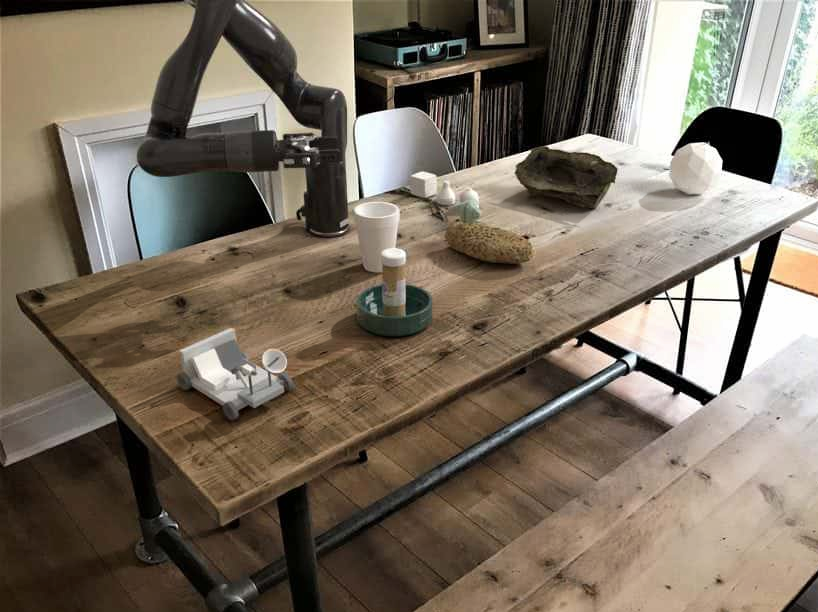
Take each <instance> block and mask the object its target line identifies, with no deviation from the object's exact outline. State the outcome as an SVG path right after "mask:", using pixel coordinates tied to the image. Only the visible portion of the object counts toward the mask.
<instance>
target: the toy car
mask: <svg viewBox="0 0 818 612" xmlns="http://www.w3.org/2000/svg"><path fill="white" fill-rule="evenodd" d="M178 351H179V356H180V362H181V367H182V371H181V372H179V373H177V375H176V380H177V381H176V382H177V383H178V385H179V386H180V388H181V389H182V390H184V391H188V390H190V389H191V388H194V389H196V390H197V391H199V392H200V393H202V394H204V395H205V396H206V397H208V398H210V399H212V401H214V402H216V403H217V404H219V405H220V406H222V410H223V413H224V415H225V416H226V418H227V419H228V420H230V421H235V420H237V419H238V418H239V417H240V413H239V410H241V409H243V408H245V407H247V406H250V407H251V408H252V409H255V408H257V407H259V406H260V405H263V404H265V403H267V402H269V401H270V400H272V399H274V398H276V397H278V396H280V395H281V394H283V393H285V392H289V391H291V390H293V388H294V383H293V380H292V378H291V376H290V375H289V374H288V373H286V372H284V371H285V369H286V368H287V366H288V360H287V357H286V355H285V354H284V352H282V351H281V350H279V349H277V348H270V349H267V350H265V352H264V353H263V354H262V358H261V359H262V360H261V361H262V366H263V368H264V369H263V368H262V367H260V366H258V365H257V364H255V363H253V362H251V361H250V360H248V359H247V358H246V354H245V352H244V350H243V349H242V348H241V347H239V346H238V341H237V335H236V329H234V327H233V328H232V327H230V328H228V329H225V330H223V331H221V332H218V333H216V334H214V335H211V336H209V337H207V338H205V339H201V340H200V341H198V342H195V343H193V344H191V345H188V346H185V347H183V348H182V349H179V350H178ZM280 373H281V374H280ZM274 374H279V375H278V376H276V375H274Z"/></svg>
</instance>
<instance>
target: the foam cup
mask: <svg viewBox="0 0 818 612" xmlns="http://www.w3.org/2000/svg"><path fill="white" fill-rule="evenodd" d="M400 219H401V218H400V208H399V207H398V206H397V205H395V204H393V203H391V202H385V201H369V202H368V201H367V202H363V203H360V204H359V205H356V206H355V207H354V209H353V221H354V222H355V228H356V233H357V237H358V239H357V240H358V243H359V250H360V255H361V261H362V265H363V269H364V270H365V271H368V272H370V273H382V263H381V252H382V251H383V250H385V249H389V248H396V246H397V245H396V244H397V235H398V228H399V222H400Z"/></svg>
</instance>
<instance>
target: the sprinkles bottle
mask: <svg viewBox="0 0 818 612" xmlns="http://www.w3.org/2000/svg"><path fill="white" fill-rule="evenodd" d="M406 262H407V254H406V251H405V250H403V249H401V248H397V247H395V248H389V249H385V250H383V251H382V252H381V263H382V272H381V277H382V278H381V279H382V280H381V284H382V301H383V314H382V316H395V317H398V316H406V313H405V301H406V295H405V284H406Z"/></svg>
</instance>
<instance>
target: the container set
mask: <svg viewBox="0 0 818 612" xmlns="http://www.w3.org/2000/svg"><path fill="white" fill-rule="evenodd" d="M409 182H410V183H409V186H410V189H409V190H410V194H411V195H413V196H416V197H419V198H424V199H427V198H429V197H431V196H433V195H435V198H436V199H435V202H436V204H438V205H442V206H451V205H455V203H456V195H455V193H454V191H453V190H452V188H451V187H450V181H449V180H443V181H442V186H441V188H440V190H438V191H437V189H438V187H437V186H438V183H437V182H438V176H437V175H436V174H435V173H430V172H427V171H419V172H416V173H414V174H411V175H410V179H409ZM478 194H479V193H477V192H476V191H475V190H474V189H472V188H471V187H467V189H464V190H463V191H462V192H460V194H459V197H458V201H459V203H458V204H460V203H463V202H465V201H467V200H472V201H474V202H475V203H476V204H477V206H478V208H479V209H480V206H479V202H480V201H479V200H480V199H479V197H480V196H479V195H478Z"/></svg>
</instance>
